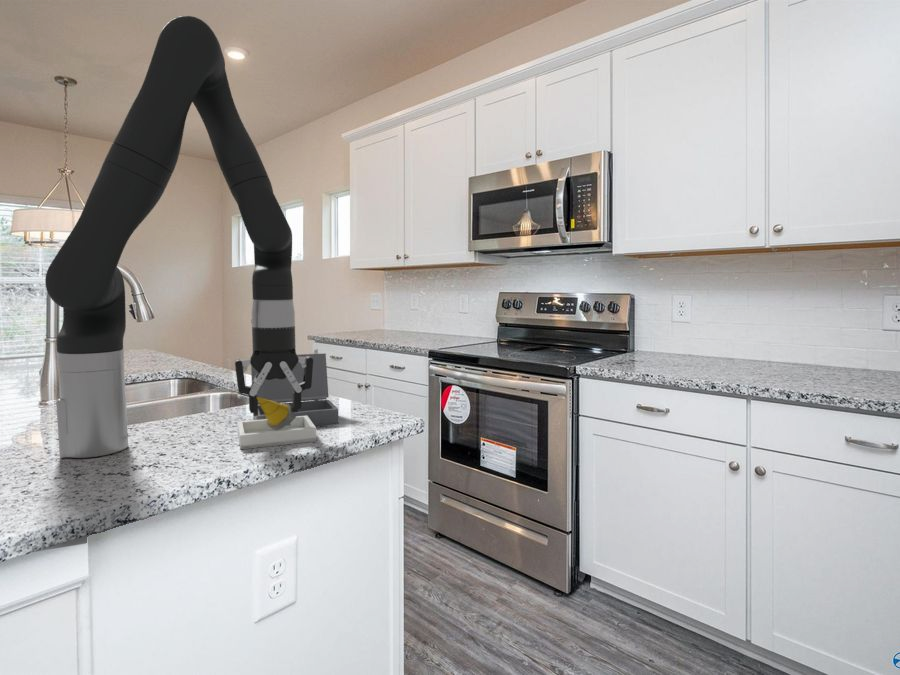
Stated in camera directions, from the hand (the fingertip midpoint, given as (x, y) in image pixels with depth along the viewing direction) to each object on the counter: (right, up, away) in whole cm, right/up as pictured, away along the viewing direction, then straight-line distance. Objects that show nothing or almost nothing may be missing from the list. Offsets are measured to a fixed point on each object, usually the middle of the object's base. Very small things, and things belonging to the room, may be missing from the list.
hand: (276, 413), depth 97 cm
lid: (-2, +5, +17) cm, 18 cm away
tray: (0, -5, 0) cm, 5 cm away
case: (0, -3, +12) cm, 13 cm away
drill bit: (0, -3, 0) cm, 3 cm away
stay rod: (+2, -2, +23) cm, 23 cm away
